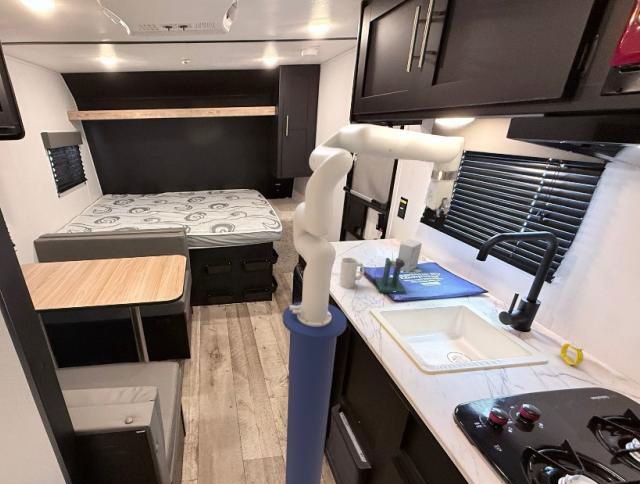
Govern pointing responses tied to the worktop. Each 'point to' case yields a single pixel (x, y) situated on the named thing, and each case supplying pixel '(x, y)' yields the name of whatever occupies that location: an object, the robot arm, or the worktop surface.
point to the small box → (409, 254)
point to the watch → (578, 351)
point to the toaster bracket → (389, 280)
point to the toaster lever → (397, 263)
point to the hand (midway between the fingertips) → (432, 223)
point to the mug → (349, 272)
